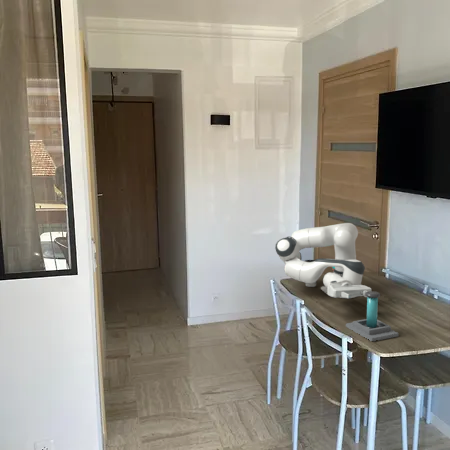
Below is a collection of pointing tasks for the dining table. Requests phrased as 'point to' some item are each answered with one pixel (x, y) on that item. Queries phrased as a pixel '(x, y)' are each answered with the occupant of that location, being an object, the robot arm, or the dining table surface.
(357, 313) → the dining table surface
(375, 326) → the teal and grey rod
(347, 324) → the board
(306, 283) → the coffee cup
